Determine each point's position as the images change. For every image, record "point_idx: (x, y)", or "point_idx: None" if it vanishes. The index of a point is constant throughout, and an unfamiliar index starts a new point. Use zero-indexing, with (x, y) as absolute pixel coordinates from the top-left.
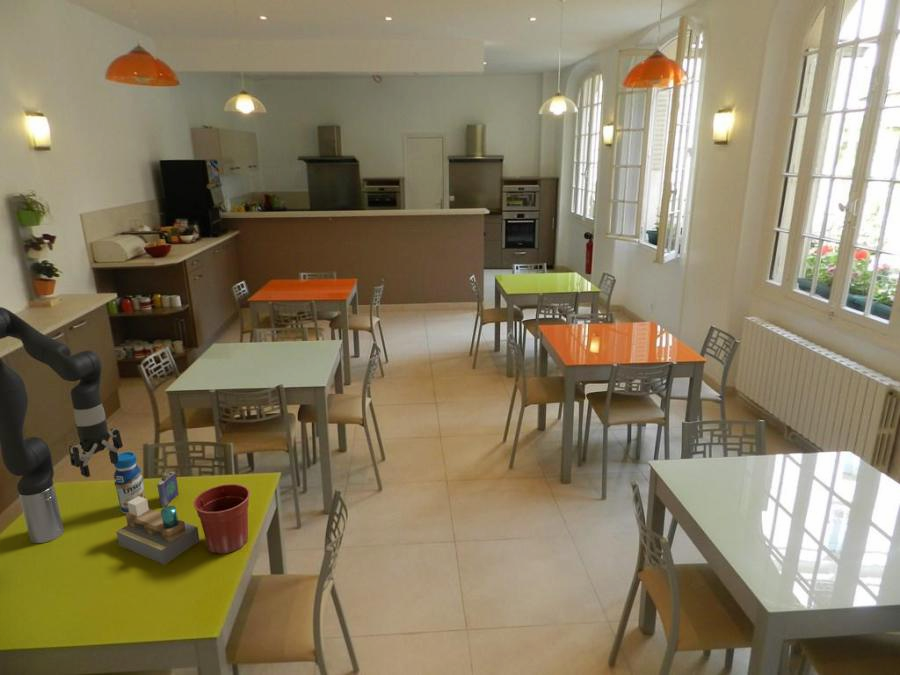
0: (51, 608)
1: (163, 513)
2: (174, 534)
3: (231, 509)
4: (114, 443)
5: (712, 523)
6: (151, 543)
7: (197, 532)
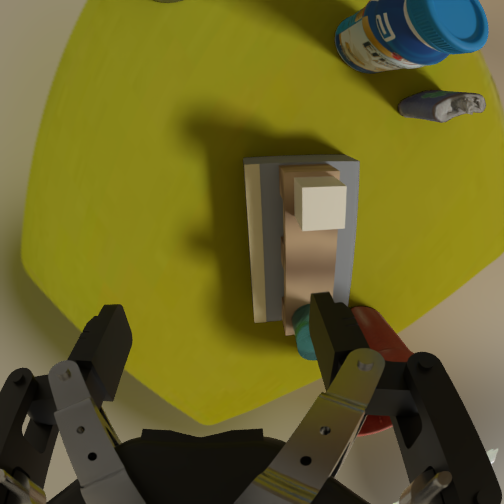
0: (71, 242)
1: (298, 351)
2: None
3: None
4: (413, 393)
5: None
6: (258, 287)
7: None
